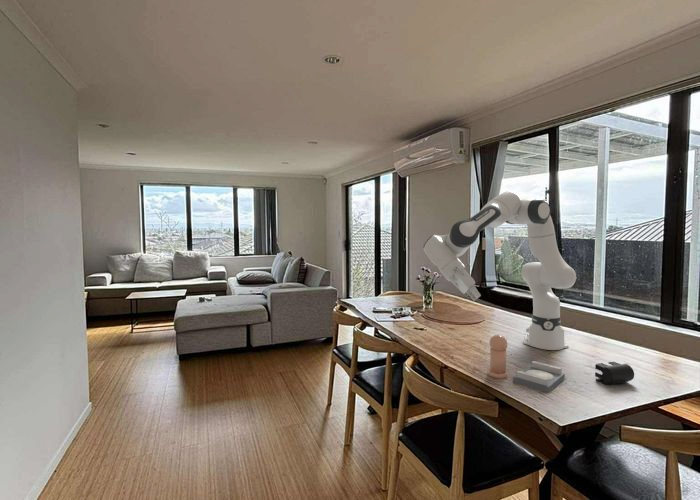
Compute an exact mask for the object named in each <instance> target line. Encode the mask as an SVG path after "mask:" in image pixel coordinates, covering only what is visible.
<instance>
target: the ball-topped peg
mask: <svg viewBox="0 0 700 500" xmlns="http://www.w3.org/2000/svg"><path fill="white" fill-rule="evenodd" d="M488 344H489V347H490V350H489V351H490V352H489V353H490V354H489V357H490V358H489V363H490V364H489V368H488V370H487V375H488V376H489V377H491V378H494V379H500V380H502V379H507V378H508V377H509V372H508V370H507V348H508V344H509V343H508V340H507V339H506V337H505V336H503V335H501V334H495V335H493V336H491V337H490V339H489V343H488Z"/></svg>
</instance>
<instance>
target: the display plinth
mask: <svg viewBox="0 0 700 500" xmlns="http://www.w3.org/2000/svg"><path fill="white" fill-rule="evenodd" d="M565 377H566V376H565V373H563V372H562V367H560V366H555V365H551V364H547V363H544V362H540V361H535V360H532V361H531V364H530V365H529V366H527V367H526V368H524V369H523V370H517V371H516V374H515V375H513V377H512V378H513V379H512V380H513V381H512V382H513V383H515V384H519V385H521V386H525V387H528V388H532V389H535V390H539V391H541V392H544V393H545V392H546V393H550V392H551V391H552V390H554V389H555V388H556V387H557V386H558V385H559V384H561V383H562V382H563V381H564V380H565Z"/></svg>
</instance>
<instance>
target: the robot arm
mask: <svg viewBox="0 0 700 500" xmlns="http://www.w3.org/2000/svg"><path fill="white" fill-rule="evenodd" d="M505 223H506V224H509V225H526V226H527V228H526V229H527V236H528V238H527V239H528V244H529V245H528V246H529V252H530V253H531V255H533V256H534V257H535V258H537V260H538V261H532V262H527V263H525V264H524V265H522V268H521V270H520V271H521V272H520V274H521V278H522V280H524V282H525V283H526V285H527V286H528V288H529V290H530V292H531V296H532V307H533V309H532V315H531V324H530V325H529V326H528V327H526V328H525V333H527V334H525V337H524V339H523V344H524V345H528V346H531V347H534V348H537V349H542V350H548V351H559V350H562V349H568V348H569V344H567V343H566V342H565V329H564V328H563V327H562V326H561V325H562V323H561V322H562V317H561V301H560V299H559V298H558V295H557V296H556V294H555V293H554V292H553V290H552V288H553V289H558V290H559V289H561V290H562V289H570V288H572V287H573V286H574V284H575V283H576V281H577V273H576V271H575V270H574V268H573V267H571V266H570V265H569V264H568V263H567V262H566V261H565V259H564V258H563V257H562V255H561V253H560V251H559V248H558V242H557V239H556V238H557V237H556V229H555V225H554V223H553V218H552V216H551V207H550V205H549V203H548V201H546V200H545V199H541V198H525V199H521V197H520V196H519V194H518V193H516V192H515V191H512V190H511V191H509V190H508V191H505V192H502V193H500V194H499V195H497V196H494V197H493V198H492V199H490V200H489V201H488V202H487V203H485V204H484V206H483V207H481V209H480V211H479V212H477V213H476V214H475V215H473V216H471V217H470V218H467V219H463V220H459V221H457V222H455V223H454V224H453V225H452V226H451V229H450V230H449V233H448V234H442V235H440V234H439V235H438V234H433V235H431V236H429V237H428V239H427V240H426V241H425V243H423V247H422V249H423V252H424V253H425V254H426V256H427V258H428V259H429V261H430V262H431V263H432V264H433V265H435V266H436V267H437V269H438V271H439V272H440V273H441V275H442V276H443V277H444V279H445V280H446V281H448V282H451V283H452V284H453V286H455V288H456V289H458V291H459V292H461V294H464V295H465V294H467V295H468V296H469V297H470V298H471V299H472V300H473V301H475V302H476V300H478V299H479V298H480V297H481V296H482V295H481V293H480V291H478V289H477V287H476V286H475V284H476V281H475V279H474V278H473V277H472V275H470V274H469V273H468V272H467V271H466V270H465V268H466V265H464V263H463V261H461V260H460V259H459V258H460V257H461V256H463V255H465V253H466V252H467V251H468V250H469V248H470V247H471V246H472V245H473V243H475V242H476V240H477V239H478V237H479V235H480V232H481V231H482V230H484V229H485V228H487V227H489V228H492V229H495V228H498V227H500V226H502V225H503V224H505Z"/></svg>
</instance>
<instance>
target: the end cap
mask: <svg viewBox="0 0 700 500" xmlns="http://www.w3.org/2000/svg"><path fill="white" fill-rule="evenodd" d="M594 367H595V368H594V369H595V370H597V371H600V372H601V373H599V372H597V371H595V372H594V376H595V381H596V382H598V383H600V384H603V385H605V386H608V385H616V384H623V383H624V384H625V383H628V382H630V381H632V380H634V378H635V372H634V371H635V370H634V369H633V367H632V366H631V365H629V364H628V363H622V364H621V363H618V362H616V361H608V364H605V363H602V362H600V363H596V364H595V366H594Z"/></svg>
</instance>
